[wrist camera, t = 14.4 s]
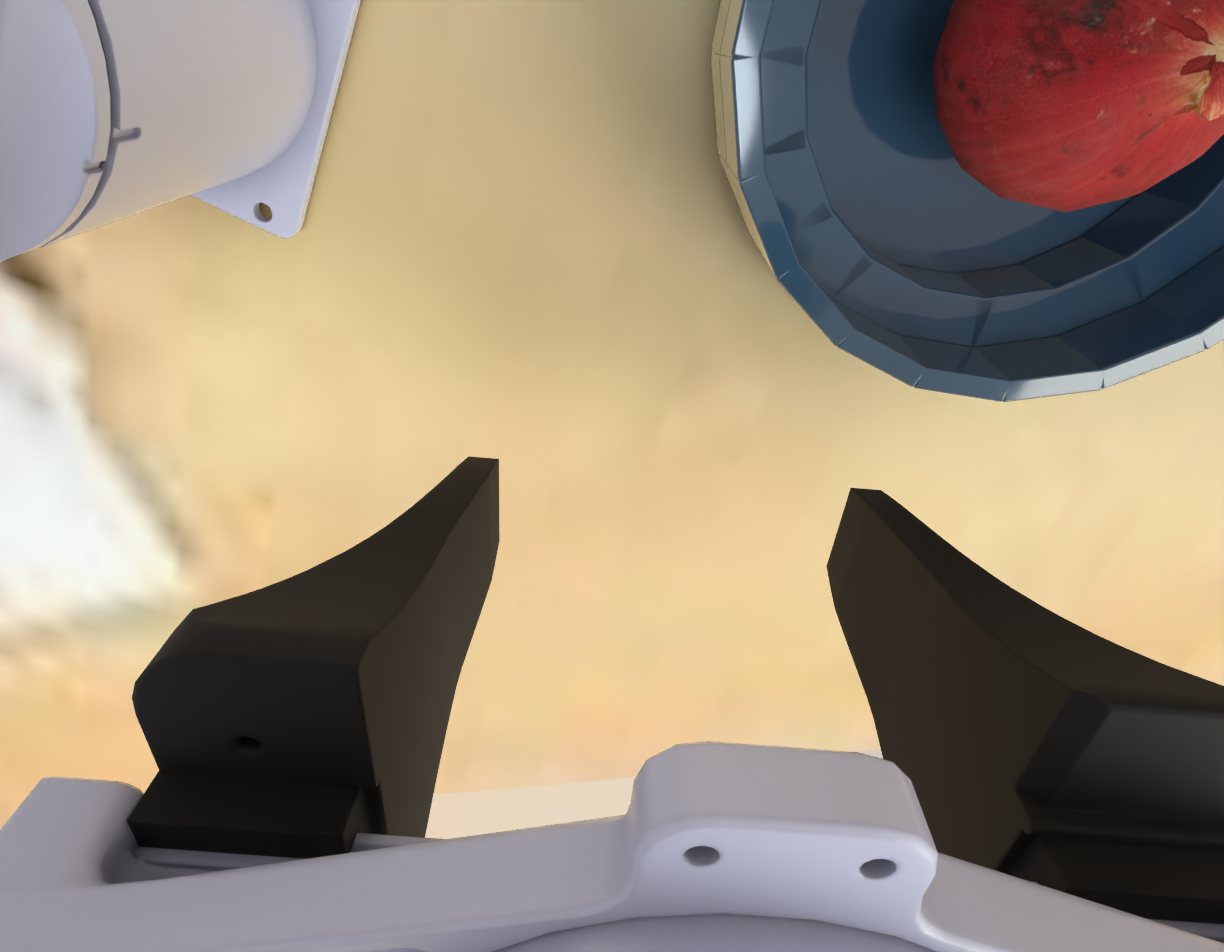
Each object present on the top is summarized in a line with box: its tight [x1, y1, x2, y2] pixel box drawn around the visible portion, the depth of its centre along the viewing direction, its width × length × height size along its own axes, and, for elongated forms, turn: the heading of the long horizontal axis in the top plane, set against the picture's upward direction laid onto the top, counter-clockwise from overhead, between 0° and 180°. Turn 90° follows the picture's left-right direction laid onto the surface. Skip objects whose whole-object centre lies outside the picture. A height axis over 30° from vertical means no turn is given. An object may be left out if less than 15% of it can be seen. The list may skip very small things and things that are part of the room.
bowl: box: [711, 0, 1224, 402], centre depth 16 cm, size 15×15×5 cm
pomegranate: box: [933, 0, 1224, 212], centre depth 14 cm, size 6×6×8 cm
